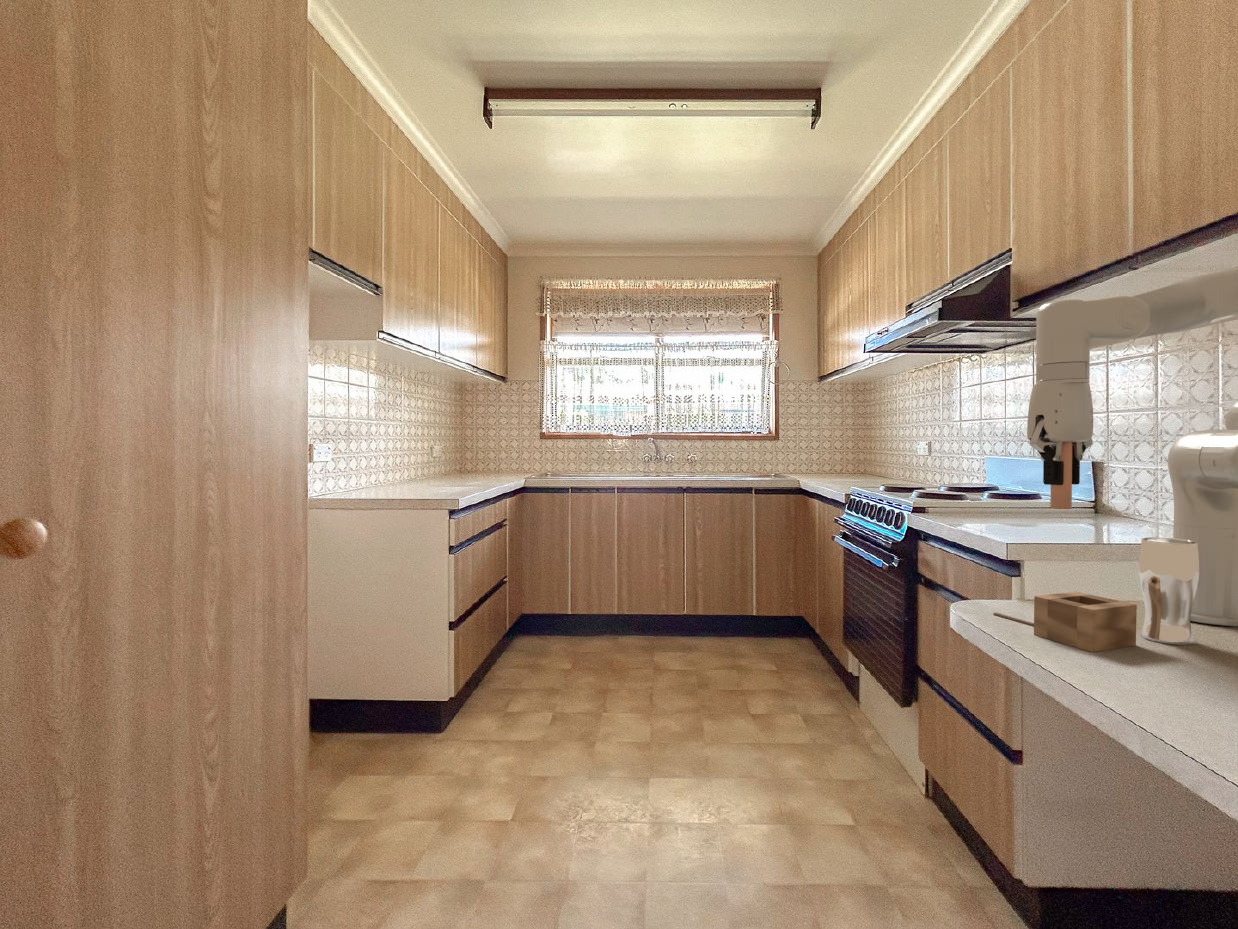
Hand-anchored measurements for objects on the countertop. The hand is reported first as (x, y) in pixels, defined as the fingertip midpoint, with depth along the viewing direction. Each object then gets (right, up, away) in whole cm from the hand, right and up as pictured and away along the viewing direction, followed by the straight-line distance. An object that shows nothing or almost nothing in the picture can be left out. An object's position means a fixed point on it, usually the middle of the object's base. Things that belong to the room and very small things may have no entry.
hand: (1061, 483), depth 112 cm
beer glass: (+8, -23, -12) cm, 28 cm away
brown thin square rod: (-8, -23, -3) cm, 25 cm away
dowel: (0, -4, 0) cm, 4 cm away
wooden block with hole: (-5, -23, -12) cm, 27 cm away
